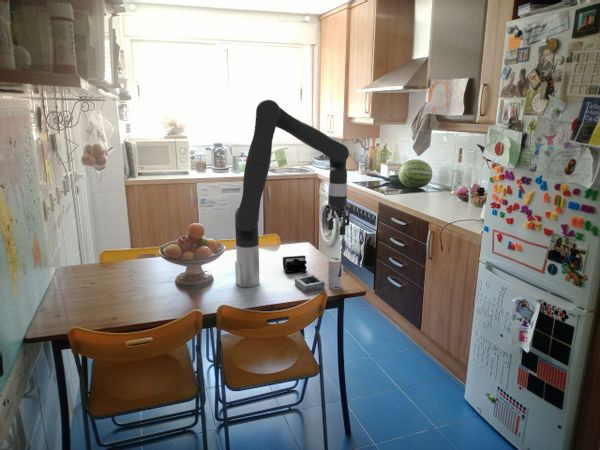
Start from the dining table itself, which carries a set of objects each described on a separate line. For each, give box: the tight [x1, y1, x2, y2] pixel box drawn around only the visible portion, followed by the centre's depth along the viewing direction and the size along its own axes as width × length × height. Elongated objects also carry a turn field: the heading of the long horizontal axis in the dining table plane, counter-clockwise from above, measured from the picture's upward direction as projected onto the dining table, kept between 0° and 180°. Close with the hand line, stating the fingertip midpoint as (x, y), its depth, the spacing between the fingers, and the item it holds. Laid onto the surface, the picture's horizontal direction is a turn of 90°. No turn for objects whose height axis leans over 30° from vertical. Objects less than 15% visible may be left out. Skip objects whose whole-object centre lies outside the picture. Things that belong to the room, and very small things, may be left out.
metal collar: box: [294, 274, 326, 294], centre depth 183 cm, size 9×9×3 cm
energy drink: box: [327, 257, 343, 291], centre depth 182 cm, size 5×5×12 cm
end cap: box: [282, 255, 308, 275], centre depth 200 cm, size 10×7×7 cm
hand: (336, 232), depth 183 cm, fingers open, 8 cm apart
